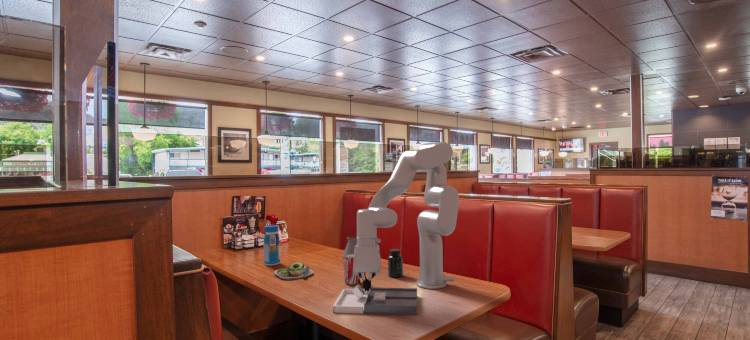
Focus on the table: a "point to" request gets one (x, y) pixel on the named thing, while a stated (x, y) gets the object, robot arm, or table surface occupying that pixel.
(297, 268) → the salad plate
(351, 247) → the coffee pot
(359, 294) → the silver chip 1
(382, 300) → the grey square block
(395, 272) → the supplement bottle
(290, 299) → the table surface
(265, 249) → the beverage bottle
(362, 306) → the tray
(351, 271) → the soda can
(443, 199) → the robot arm
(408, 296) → the slot block
